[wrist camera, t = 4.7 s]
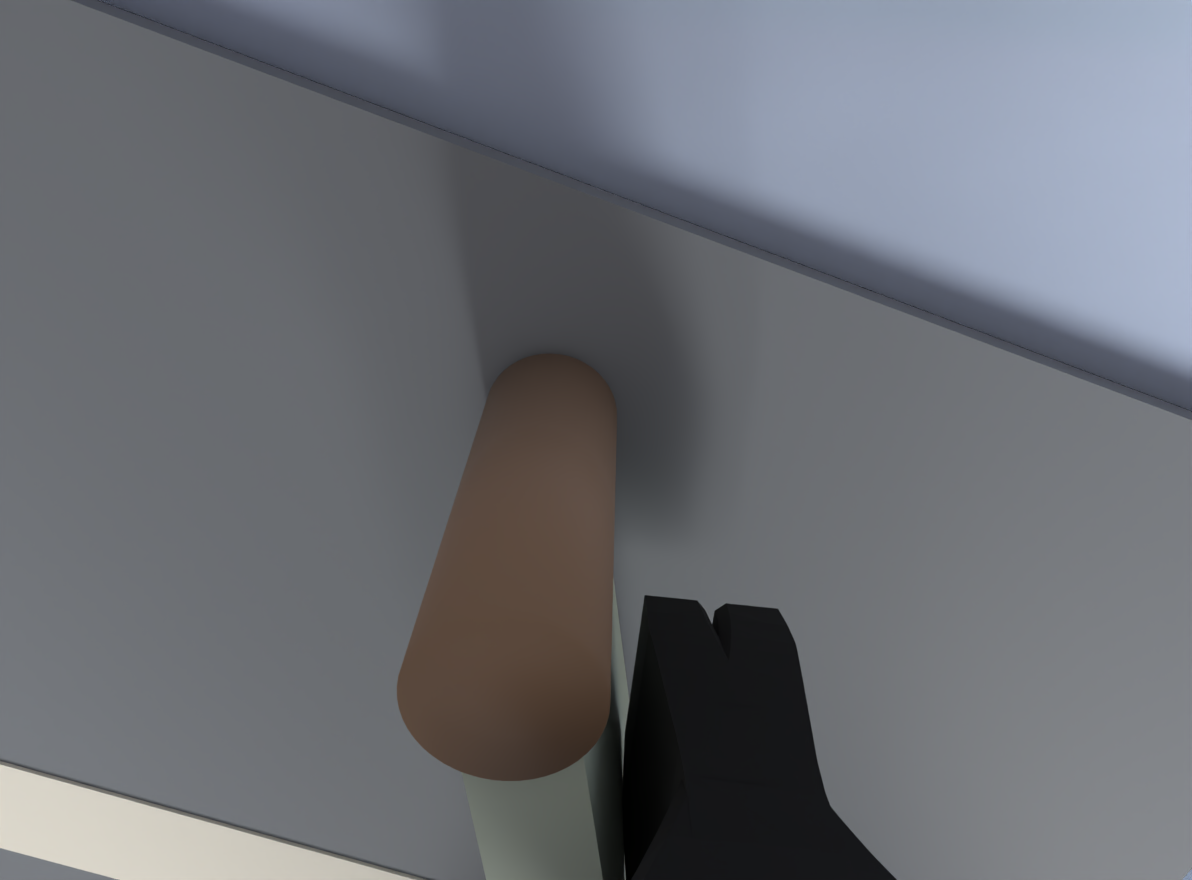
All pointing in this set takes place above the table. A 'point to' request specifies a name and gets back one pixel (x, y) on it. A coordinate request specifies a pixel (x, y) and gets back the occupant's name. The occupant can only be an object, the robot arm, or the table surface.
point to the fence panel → (530, 631)
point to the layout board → (437, 461)
